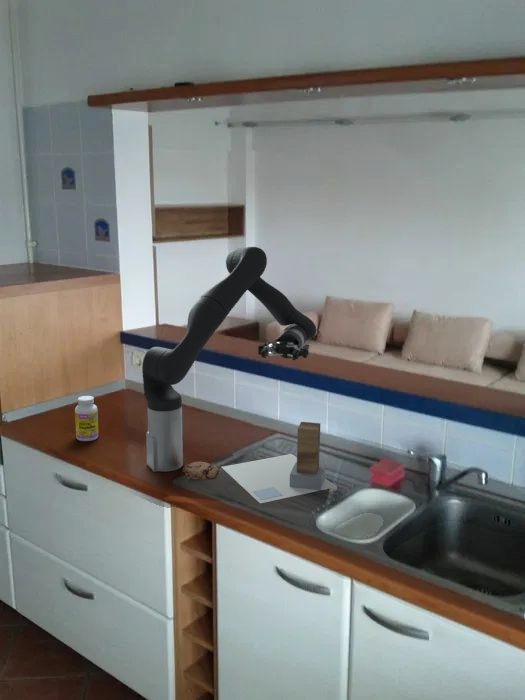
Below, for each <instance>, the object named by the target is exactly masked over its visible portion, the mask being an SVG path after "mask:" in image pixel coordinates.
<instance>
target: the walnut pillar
mask: <svg viewBox="0 0 525 700" xmlns="http://www.w3.org/2000/svg"><path fill="white" fill-rule="evenodd" d="M296 443H297V447H296V457H297V472H298V473H307V474H316V473H317V471H318V468H319V465H320V450H321V422H308V421H300V424H299V425H298V427H297V441H296Z"/></svg>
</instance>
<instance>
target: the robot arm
mask: <svg viewBox="0 0 525 700" xmlns="http://www.w3.org/2000/svg"><path fill="white" fill-rule="evenodd" d="M267 264H268V257H267V255H266V252H265V251H264V250H263V249H262V248H261V247H257V246H248V247H247V246H246V247H241V248H240V247H239V248H235V249H233V250H230V252H229V253H227V255H226V258H225V267H226V270H227V271H228V273H229V274H228V275H227V276H226V277H224V279H222V280H221V281H219V282H217V283H216V284H214V285H213V286H212V287H210V288H209V289H207V290H206V291H205V292H204V293H203V294H202V295H200V297H199V298H198V299H197V300H196V302H195V303H194V305H192V307H191V309H190V310H189V313H188V317H187V326H186V327H187V328H186V333H185V334H184V336H183V338H182V339H181V341H180V342H179V343H178V345H176V346H175V348H173V349H171V348H167V347H161V346H153V347H151V348H150V349H148V350H147V352H146V353H145V354H144V357H143V360H142V367H141V368H142V371H141V372H142V382H143V383H142V385H143V395H144V398H145V400H146V402H147V431H146V433H145V438H146V439H145V440H146V441H145V442H146V443H145V446H146V465H147V466H148V467H149V469H151V471H152V472H154V473H155V472H172V471H177V470H179V469H181V468H182V467H183V465H184V464H183V463H184V461H183V460H184V455H183V453H184V452H183V404H182V403H183V402H182V401H183V400H182V396H181V394H180V393H179V392H178V391H177V390H176V389H174V387H173V385H177V384H179V383H180V382H182V381H183V379H184V378H185V377H186V376H187V374H188V372H189V371H190V370H191V368H192V366H193V364H194V362H195V361H196V359H197V357H199V355H200V353H201V352H202V350H203V349H204V348H205V346H206V344H207V343H208V341H210V338H212V336H213V335H214V333H216V331H217V329H218V328H219V327H220V326H221V325H222V324H223V322H224V321H225V319H226V318H227V316H228V315H229V314H230V313H231V311H232V310H233V308H235V306H236V305H237V304H238V302H239V301H240V299H241V298H242V297H243V295H244V294H245V293H246V292H247V291H248V292H249V293H250V294H251V295H253V296H254V297H255V298H256V299H257V300H258V301H259V302H260V303H261V304H262V305H263V306H264V307H265V308H266V310H267V311H268V312H269V313H270V314H271V316H272V317H273V318H274V319H275V320H276V322H277V323H278V324H279V325H280V326H283V327H285V328H284V329H283V332H282V333H280V335H279V336H278V337H276V340H275V342H272V343H270V344H268V342H267V341H263V342H262V343H260V344H259V345H258V346H257V355H260V357H262V359H266V358H267V357H268V356H271V357H274V356H275V357H276V356H280V357H281V358H283V359H292V361H296V360H298V359H300V358H301V357H302V358H304V359H307V358H308V356H309V354H310V345H309V344H305V343H306V341H309V340H310V339H312V338H314V337H315V336H316V334H317V326H316V324H315V323H314V321H313V320H312V319H311V318H309V317H308V316H306V315H305V314H304V313H302V312H300V311H299V310H298V309H297V308H296V307H295V306H294V305H293V304H292V302H291V301H290V299H289V298H288V297H287V296H286V295H285V294H284V293H283V292H282V291H280V290H279V289H277V288H276V287H274V286H272V285H271V284H270V283H269V282H267V281H265V280H264V279H263V277H262V275H263V274H264V272H265V271H266V269H267V268H266V267H267Z"/></svg>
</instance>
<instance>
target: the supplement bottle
mask: <svg viewBox="0 0 525 700" xmlns="http://www.w3.org/2000/svg"><path fill="white" fill-rule="evenodd" d="M94 399H95V397H94V396H91V395H81V396H79V397H78V398H77V403H78V404H77V405H76V407H75V408H74V419H75V420H74V421H75V437H76V439H77V440H78V441H81V442H92V441H95V440H96V439H98V437H99V419H98V418H99V416H98V415H99V414H98V413H99V411H98V406H97V405H96V404H94V402H95V400H94Z"/></svg>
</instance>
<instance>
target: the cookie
mask: <svg viewBox="0 0 525 700" xmlns="http://www.w3.org/2000/svg"><path fill="white" fill-rule="evenodd" d="M219 471H220V470H219V467H217V466H211V464H210V463H208V462H205V461H194V462H191V463H188V464H186V465H184V467H183V468H182V473H184V474H185V476H186V477H187V478H188V479H192V480H198V481H199V480H205V481H206V480H207V479H214V478H216V476H217V474H218V472H219Z"/></svg>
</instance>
